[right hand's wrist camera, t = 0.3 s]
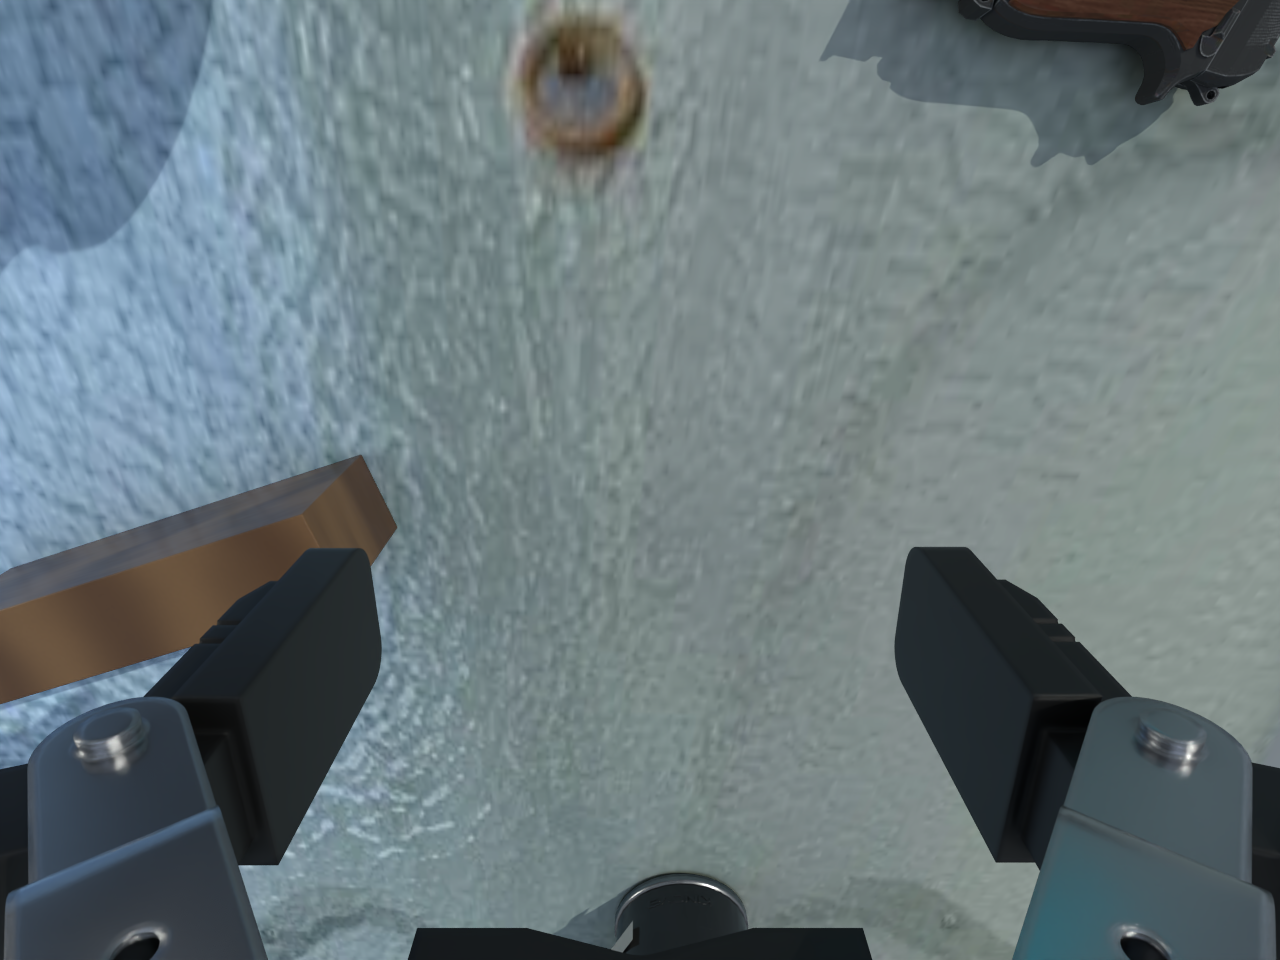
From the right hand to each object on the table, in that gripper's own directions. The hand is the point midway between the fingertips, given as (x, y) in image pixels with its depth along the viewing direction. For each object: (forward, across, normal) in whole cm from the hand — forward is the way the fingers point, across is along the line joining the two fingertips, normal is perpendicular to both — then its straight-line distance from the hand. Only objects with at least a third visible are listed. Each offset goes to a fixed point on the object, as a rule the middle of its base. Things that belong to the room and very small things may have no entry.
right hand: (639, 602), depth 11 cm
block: (+29, -25, -14) cm, 41 cm away
